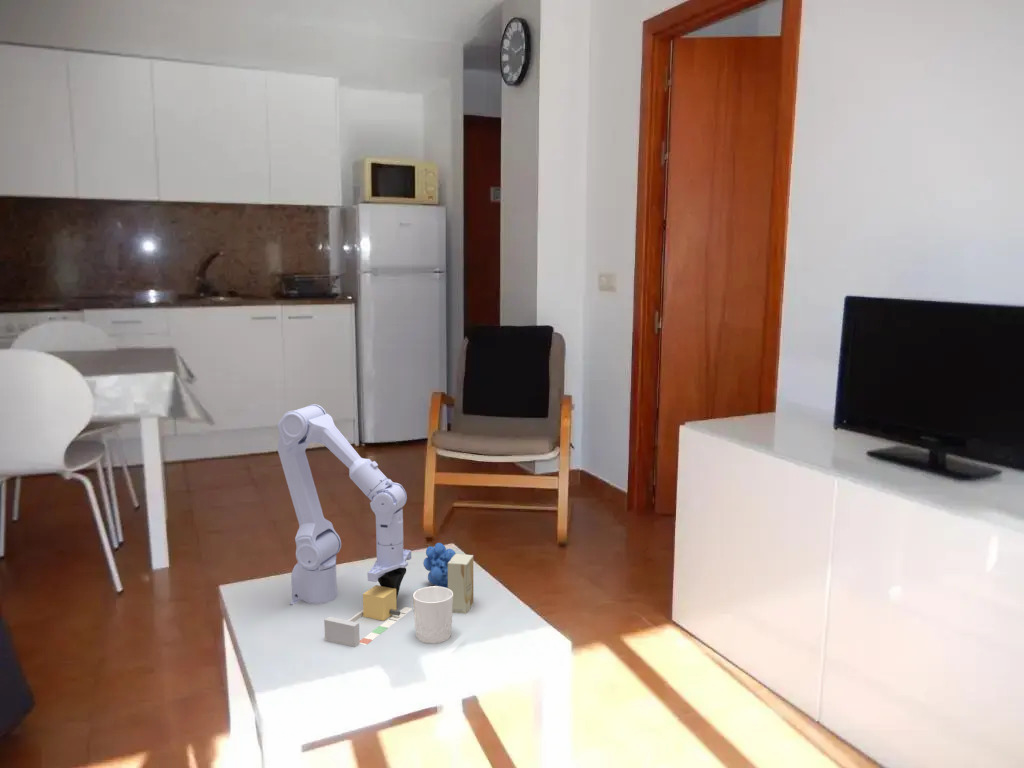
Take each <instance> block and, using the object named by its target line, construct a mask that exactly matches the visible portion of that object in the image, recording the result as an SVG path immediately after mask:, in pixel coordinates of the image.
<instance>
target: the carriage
mask: <svg viewBox="0 0 1024 768" xmlns="http://www.w3.org/2000/svg"><path fill="white" fill-rule="evenodd" d="M362 607H363V608H362V610H363V616H362V617H364V618H367V619H372V620H379V621H383V622H385V621H387V620H388V619H389V618H391V617H392V616H394V615H397V616H399V615H400V610H397V609H398V608H397V607H398V606H397V601H396V589H394V588H389V587H383V586H380V585H378V584H377V585H374V586H373V587H371V588H369V589H368V590H366V591H365V592H364V593H362Z"/></svg>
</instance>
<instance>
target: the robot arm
mask: <svg viewBox="0 0 1024 768" xmlns="http://www.w3.org/2000/svg"><path fill="white" fill-rule="evenodd" d="M276 427H277V430H278V432H279V434H278V442H277V453H278V456H279V459H280V463H281V466H282V470H283V473H284V477H285V480H286V484H287V486H288V490H289V494H290V498H291V501H292V505H293V507H294V508H293V509H294V511H295V516H296V519H297V522H298V525H299V526H298V529H297V532H296V535H295V538H294V540H295V541H294V542H295V545H296V549H295V559H296V561H297V563H296V564H295V565H293V566H294V567H293V568H292V571H291V577H290V579H291V601H290V602H289V605H290V606H293V605H295V604H297V602H300V601H303V602H306V603H309V604H315V605H317V604H326V603H329V602H332V601H334V600H336V598H337V597H338V589H337V588H338V584H337V583H338V581H337V554H338V553H339V552H340V550H341V548H342V540H341V536H340V535H339V534H338V533H337V532H336V530H335V529H334V525H333V522H331V521H330V520H328V519H327V518H325V517H324V513H323V508H322V505H321V502H320V499H319V495H318V492H317V488H316V485H315V482H314V478H313V474H312V470H311V467H310V463H309V460H308V456H307V454H306V450H307V448H308V447H309V445H310V443H314V444H315V443H316V444H323V446H325V448H327V449H328V450H329V451H330V452H331V453H332V454H333V455H334V456H335V457H336V458H337V459H338V460H339V461H340V462H341V463H342V464H343V465H345V467H346V468H348V470H349V471H348V472H349V478H350V480H351V481H352V482H353V483H354V484H355V485H356V487H358V489H360V491H362V493H363V494H364V495H365V497H367V498H368V499H369V500H370V501H371V502H369V504H370V509H371V510H372V512H373V513H374V516H375V535H376V536H375V538H376V540H375V543H376V545H375V546H376V560H375V562H374V563H373V565H372V567H371V569H369V571H367V573H366V574H367V582H372V583H377V582H378V584H379V586H383V587H389V588H394V589H396V602H397V601H398V596H399V592H400V587H401V584H402V581H403V579H404V577H405V575H406V573H407V568H406V567H408V566H409V562H408V561H410V560H411V559H412V550H410V549H404V513H403V512H404V511H403V510H404V509H403V507H404V506H405V504H406V503H407V500H408V497H407V495H408V494H407V491H406V490H405V488H404V487H403V485H402V484H400V483H398V482H393V481H392V479H391V478H388V477H387V476H386V475H385V474H384V473H383V472H382V471H381V470H380V469H379V467H378V466H379V464H378V463H377V461H375V460H374V461H372V459H370V458H363V457H361V456H360V454H359V453H358V452H357V451H356V449H354V447H353V446H352V444H351V443H350V442H349V441H348V440H347V439H346V437H345V436H344V435H343V434H342V432H341V431H340V430H339V428H338V427H336V425H335V422H334V419H333V417H332V416H331V415H330V414H329V413H327V411H326V410H325V409H324V408H323V407H322V406H321V405H319V404H317V403H316V404H314V403H313V404H309V405H307V406H304V407H300V408H298V409H295V410H289V411H287V412H285V413H284V414H283V415H282V417H281V418H280V420H279V421H278V423H277V425H276Z"/></svg>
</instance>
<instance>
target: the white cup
mask: <svg viewBox="0 0 1024 768" xmlns="http://www.w3.org/2000/svg"><path fill="white" fill-rule="evenodd" d="M412 599H413V602H412V603H413V614H414V615H413V616H414V617H413V618H414V628H415V637H416V639H417V640H418V641H419V642H422V643H425V644H439V643H443V642H446V641H447V640H448V639H450V637H451V630H452V625H453V624H452V623H453V613H452V609H453V592H452V591H451V590H450V589H448V588H445V587H439V586H437V585H434V586H433V585H432V586H425V587H422V588H419V589H416V591H414V592H413V594H412Z"/></svg>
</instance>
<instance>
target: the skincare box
mask: <svg viewBox="0 0 1024 768" xmlns="http://www.w3.org/2000/svg"><path fill="white" fill-rule="evenodd" d="M448 589H450V590H451V591H452V592H453V609H452V614H453V613H454V614H462V615H463V614H465V615H467V614H468V613H469V611H470V609H471V607H472V606H473V604H474V603H475V602H474V554H461V553H456V554H455V555H454V556H453V557H452V558H451V560H450V561H449V562H448Z"/></svg>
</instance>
